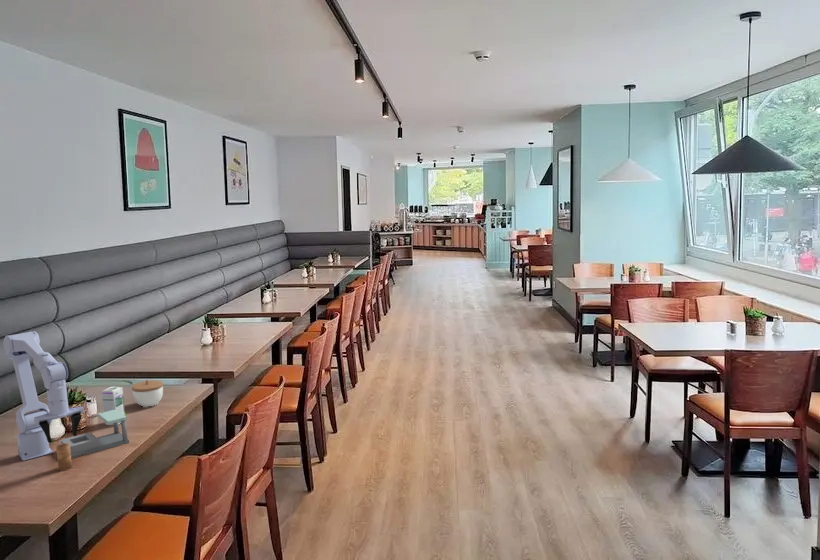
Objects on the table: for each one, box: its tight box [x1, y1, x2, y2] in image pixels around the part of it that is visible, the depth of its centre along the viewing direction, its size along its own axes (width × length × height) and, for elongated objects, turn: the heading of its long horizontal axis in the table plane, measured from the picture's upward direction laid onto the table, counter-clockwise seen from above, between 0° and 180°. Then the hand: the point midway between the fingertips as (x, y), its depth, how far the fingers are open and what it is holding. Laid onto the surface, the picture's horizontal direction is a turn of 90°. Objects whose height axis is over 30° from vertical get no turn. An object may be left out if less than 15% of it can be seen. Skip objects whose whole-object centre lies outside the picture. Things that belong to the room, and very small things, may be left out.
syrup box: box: [100, 386, 127, 426], centre depth 252 cm, size 6×6×14 cm
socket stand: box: [60, 409, 130, 459], centre depth 228 cm, size 21×12×10 cm, turn 132°
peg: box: [55, 443, 73, 471], centre depth 211 cm, size 4×4×8 cm
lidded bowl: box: [131, 379, 164, 408], centre depth 273 cm, size 13×13×11 cm
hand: (62, 438), depth 210 cm, fingers open, 7 cm apart
